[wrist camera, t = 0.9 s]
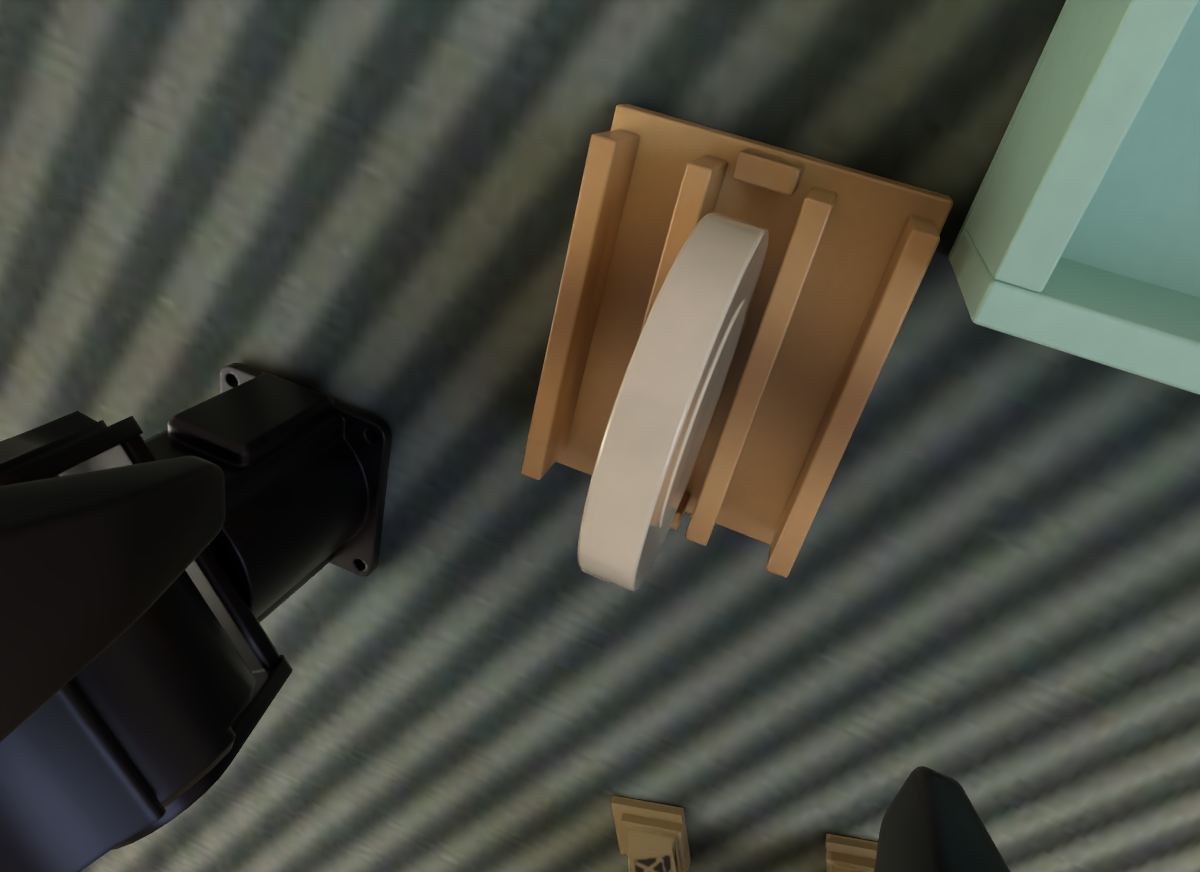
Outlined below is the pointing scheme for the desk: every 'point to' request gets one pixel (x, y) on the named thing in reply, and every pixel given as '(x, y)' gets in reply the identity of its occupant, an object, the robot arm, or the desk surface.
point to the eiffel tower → (664, 851)
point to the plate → (669, 398)
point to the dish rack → (774, 326)
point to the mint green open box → (1098, 196)
